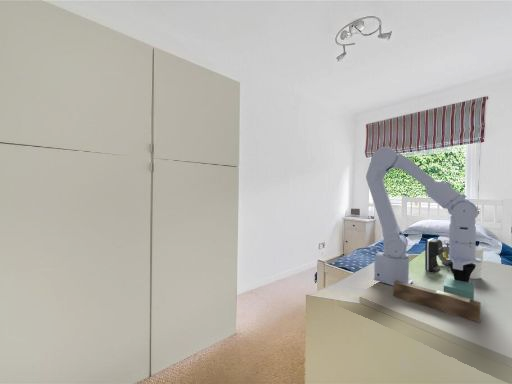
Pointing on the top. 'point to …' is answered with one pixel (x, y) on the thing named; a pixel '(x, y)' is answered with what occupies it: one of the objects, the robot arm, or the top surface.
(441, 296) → the walnut board
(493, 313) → the top surface
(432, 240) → the battery charger
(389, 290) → the top surface
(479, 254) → the white cup
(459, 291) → the teal block
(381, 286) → the top surface
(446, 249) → the pocket watch
